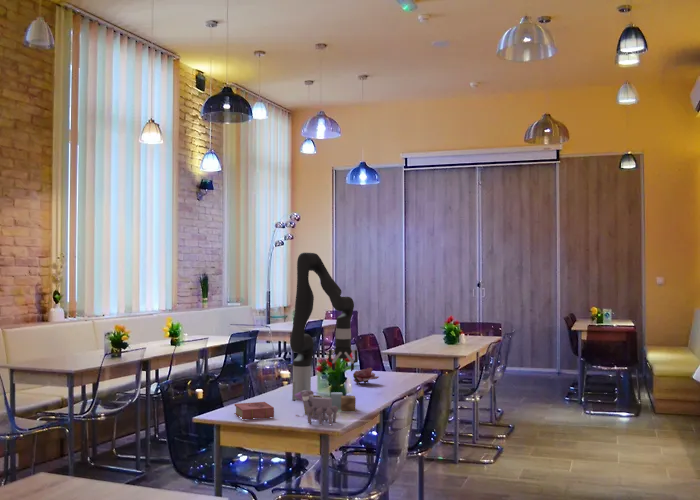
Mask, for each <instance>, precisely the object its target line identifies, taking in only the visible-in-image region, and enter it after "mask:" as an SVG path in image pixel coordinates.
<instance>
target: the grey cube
mask: <svg viewBox="0 0 700 500" xmlns="http://www.w3.org/2000/svg"><path fill="white" fill-rule="evenodd" d="M341 396H344V394H343V392H341V391H340V392H339V391H338V392H337V391H336V392H335V391H334V392H333V391H332V392H330V398H332V407H333V406H337V407H341Z"/></svg>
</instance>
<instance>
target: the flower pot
mask: <svg viewBox="0 0 700 500" xmlns="http://www.w3.org/2000/svg"><path fill="white" fill-rule="evenodd" d="M313 397H322V398H323V396H322V395H321V396H320V395H316V394H314V396H313ZM303 407H304V416H308V414H307V413H306V409H307V408H308V407H305V406H304V405H303ZM311 407H312V406H311ZM311 416H313V412H312V413H311ZM316 416H318V415H317V413H316Z"/></svg>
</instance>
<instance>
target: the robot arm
mask: <svg viewBox="0 0 700 500" xmlns="http://www.w3.org/2000/svg"><path fill="white" fill-rule="evenodd" d="M310 271H311V272H314V273H315V274H316V275H317V276H318V277H319V283H320V286H321V288H322V290H323V291H324V292H325V294H326V295H327V296H328V298H329V300H330V303H331V305H332V307H333V309H335V310H336V311H338V312H341V314H340V315H339V316H337V317H336V321H335V323H336V324H335V326H336V327H335V347H334V349H331V348H330V349H329V350H328V360H327V361H328V362H329V363H331V370H332V371H333V372H336V371H335V370H336V361H337V360H338V359H339V360H340V359H341V360H342V359H343V360H344V359H345V360H346V359H348V361H349V362H350V372H353V371H354V370H355V369H354V368H355V367H354V366H355V363H358V349H352V331H351V330H352V329H351V326H352V325H351V323H352V322H351V321H352V317H353V312H354V309H355V302H354V300H353V299H354V298H352V297H351V296H341V295H342V289H341V288H340V287H339V285H338V284H337V282H336V281H335V280H334V279H333V277H332V276H331V274H330V273H329V271H328V269H327V268H326V266H325V264H324V262H323V260H322V259H321V257H320V256H319V255H318V254H317V253H315V252H300V254H299V255H298V257H297V261H296V276H297V277H296V292H295V293H296V294H295V302H294V315H293V325H292V329H291V335H290V342H289V345H290V349H291V351H292V352H293V353H295V354H297V356H296V358H294V359H293V360H292V389H291V390H292V395H291V396H292V399H291V400H292V401H296V400H300V399H299V398H297V397H296V396H294V395H295V394H297V393H299V392H300V391H303V390H308V391H310V390H311V389H312V388H311V383H312V382H311V381H312V380H311V379H312V372H311V371H312V368H311V367H312V362H313V356H314V340H313V337H312V336H311V335H310V334H308V333H305V330H306V326H307V323H308V321H309V318H310V317H311V315H312V313H313V310H314V300H315V299H314V298H315V296H314V292H313V290H312V288H311V285H310V282H309V281H310V280H309V276H310V275H309V274H310ZM333 354H335V357H334V358H333V359H332V355H333ZM351 354H353V355H354V359H353V358H352V357H351ZM311 391H312V390H311Z"/></svg>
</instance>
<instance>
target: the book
mask: <svg viewBox="0 0 700 500" xmlns="http://www.w3.org/2000/svg"><path fill="white" fill-rule="evenodd" d="M234 407H235V412H234V415H235V414H236V415H237V416H236V415H235V416H236V417H238V416H240V417H242V419H253V418H267V419H270V418H269V417H274V418H275V407H274V406H273V405H271V404H269V403H267V402H266V401H258V402H257V401H256V402H243V403H241V402H240V403H234ZM242 419H241V420H242ZM253 420H254V419H253Z"/></svg>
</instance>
